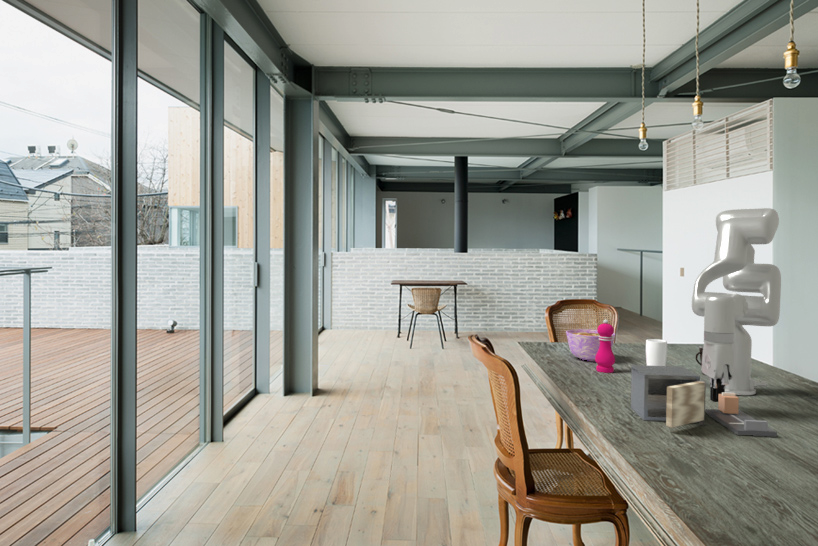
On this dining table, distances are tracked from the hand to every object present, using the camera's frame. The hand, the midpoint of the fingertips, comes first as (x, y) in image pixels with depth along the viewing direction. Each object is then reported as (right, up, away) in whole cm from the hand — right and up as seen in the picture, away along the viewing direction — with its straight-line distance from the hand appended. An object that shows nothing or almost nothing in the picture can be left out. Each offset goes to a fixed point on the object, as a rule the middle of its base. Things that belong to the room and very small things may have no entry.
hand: (717, 401), depth 150 cm
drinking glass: (-3, -2, +31) cm, 31 cm away
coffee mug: (+23, -1, +45) cm, 50 cm away
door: (-17, -3, -16) cm, 23 cm away
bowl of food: (-12, 0, +72) cm, 73 cm away
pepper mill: (-14, -1, +50) cm, 52 cm away
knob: (-1, -1, -6) cm, 7 cm away
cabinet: (-18, -3, -4) cm, 18 cm away
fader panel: (-2, -3, -12) cm, 13 cm away
